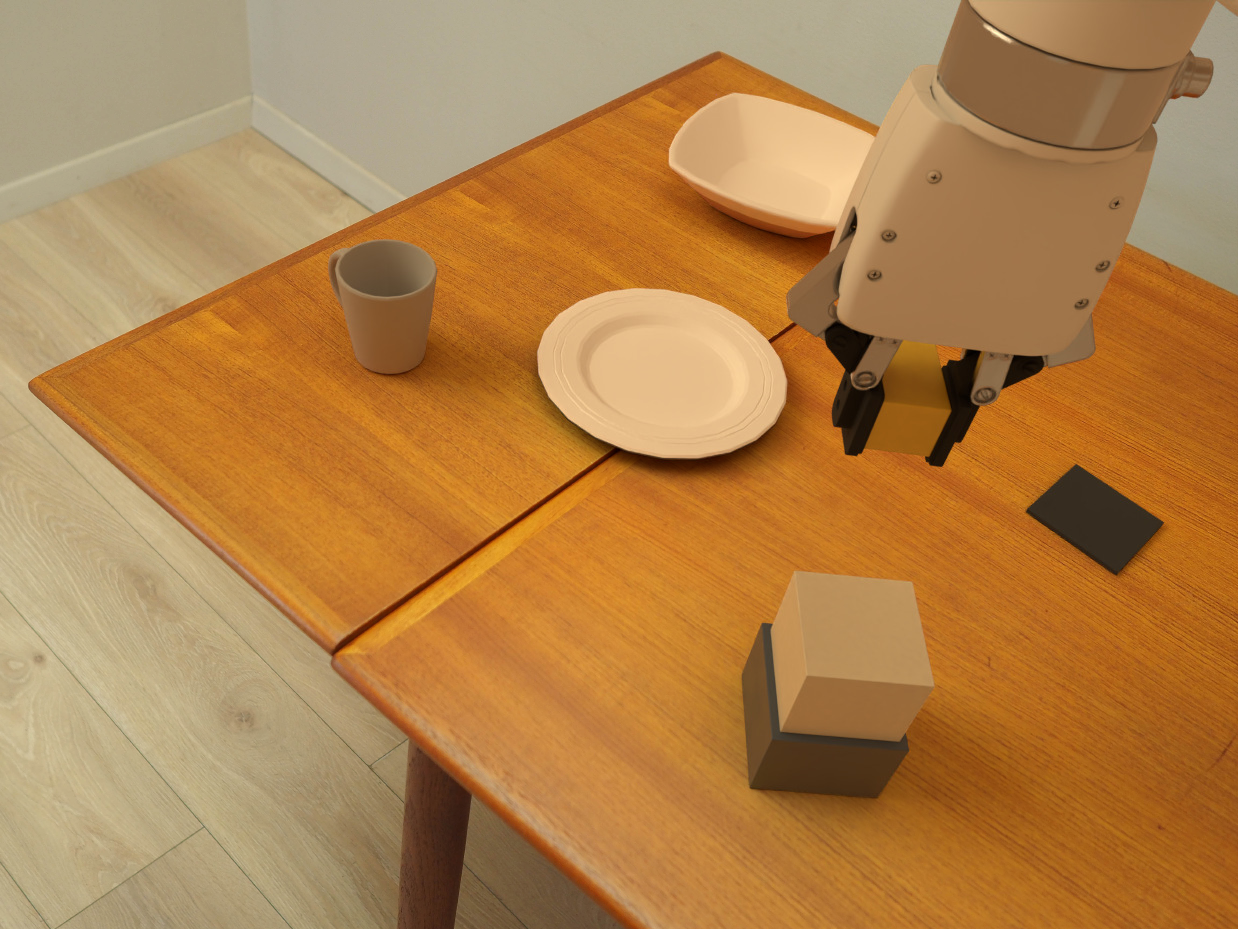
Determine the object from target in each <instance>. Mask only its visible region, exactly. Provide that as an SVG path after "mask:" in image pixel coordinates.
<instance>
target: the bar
mask: <svg viewBox="0 0 1238 929" xmlns="http://www.w3.org/2000/svg"><path fill="white" fill-rule="evenodd" d="M853 227H855V226H853ZM939 356H940V355H939V351H938V349H937V345H934V344H927V343H920V342H913V341H906V340H903V342H902V343H901V345H900V347H899V349H898V350H897V352H896V354H895V355H894V357H893V359H892V361H891V362H890V364H889V366H888V368H887V369H886V371H885V373H884V376H883V379H882V381H883V386H884V392H885V399H884V403H883V405H882V407H881V410H880V412H879V414H878V417H877V419H876V422H875V424H874V426H873V429H872V431H871V433H870V436H869V438H868V441H867V443H866V445H865V448H864V450H872V451H881V452H888V453H896V454H904V455H912V456H921V457H925V456H927V457H929V456H930V455H931V452H932V450H933V448H934V446H935V444H936V442H937V440H938V438H939V436H940V434H941V432H942V430H943V428H944V426H945V424H946V422H947V420H948V418H949V416H950V414H951V411H952V409H951V405H950V401H949V397H948V393H947V389H946V385H945V381H944V376H943V372H942V365H941V360H940V357H939Z"/></svg>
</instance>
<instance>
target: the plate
mask: <svg viewBox="0 0 1238 929" xmlns="http://www.w3.org/2000/svg"><path fill="white" fill-rule="evenodd" d="M536 356H537V371H538V378H539V380H540V382H541V384H542V387H543V389H544V391H545V393H546V396H547V397H548V399H549V401H550V402H551V403H552V404H553V405H554V406H555V407H556V408H557V410H558V411H559V412H560V413H561V414H562V415H563V416H564V418H566V419H567V421H569V422H570V423H571V424H573V425H574V426H576V427H577V428H579V429H580V430H582V431H583V432H585V433H586V434H588V435H589V436H591V437H592V438H593V439H595V440H597V441H600V442H603V443H604V444H607V445H609V446H612V447H615V448H616V449H619V450H621V451H624V452H626V453H630V454H636V455H640V456H644V457H650V458H654V459H660V460H684V461H685V460H688V461H689V460H690V461H694V460H695V461H698V460H699V461H700V460H703V459H708V458H714V457H719V456H725V455H729V454H732V453H734V452H736V451H739V450H740V449H742V448H745V447H747V446H749V445H751V444H753V443H755V442H757V441H759V439H760V438H761V437H762V436H764V435H765V434H766V433H767V432H769V430H771V429H772V427H774V426H775V425H776V423H777V421H778V418H779V417H780V415H781V414H782V411H783V410H784V407H785V406H786V404H787V403H786V402H787V391H788V379H787V376H786V372H785V369H784V365H783V362H782V359H781V357H780V356H779V355H778V353H777V352H776V350H775V348H774V347H773V346H772V345H771V343H770V341H769V340H768V339H767V338H766V337H765V336H764V335H763V334H762V333H761V332H760V331H759V330H758V329H757V328H756V327H754V326H753V325H752V324H751V323H750V322H749V321H748V320H746V319H745V318H743V317H741V316H740V315H738V314H736V313H735V312H732V311H731V310H730V309H728V308H726V307H724V306H723V305H720V304H717V303H715V302H712V301H710V300H707V299H704V298H701V297H699V296H696V295H693V294H689V293H683V292H679V291H674V290H669V289H663V288H641V287H640V288H638V287H634V288H633V287H632V288H626V289H619V290H618V289H617V290H610V291H604V292H601V293H599V294H595V295H592V296H590V297H587V298H584V299H581V300H579V301H577V302H575V303H574V304H572V305H571V306H569V307H568V308H566V309H564V310H563V311H561V312H560V313H558V314H557V315H556V317H554V319H553V320H552V322H551V323H550V324H549V325H548V326H547V328H546V329H545V330H544V331H543V334H542V337H541V340H540V343H539V346H538V348H537V351H536Z"/></svg>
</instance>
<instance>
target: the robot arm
mask: <svg viewBox="0 0 1238 929" xmlns="http://www.w3.org/2000/svg"><path fill="white" fill-rule="evenodd" d="M1216 2H1218V3H1219V4H1220V5H1222V7H1224V8H1225V9H1227V10H1228V11H1229V12H1230V13H1232V14H1233V15H1235V16H1236V17H1238V0H960V2H959V5H958V8H957V11H956V14H955V17H954V18H953V22H952V25H951V27H950V30H949V33H948V36H947V39H946V41H945V44H944V47H943V50H942V53H941V56H940V58H939V61H938V64H930V63H928V64H927V63H926V64H925V63H924V64H920V65H918V66H916V67H915V68H914V69H912V71H911V72H910V73H909V76H908V77H907V79H906V80H905V82H904V84H903V85H902V86H901V88H900V90H899V92H898V93H897V95H896V97H895V98H894V101H893V102H892V104H891V105H890V107H889V109H888V110H887V113H886V115H885V117H884V119H883V121H882V123H881V125H880V127H879V129H878V131H877V133H876V135H875V136H874V137H875V139H874V141H873V143H872V145H871V147H870V149H869V152H868V154H867V156H866V158H865V160H864V163H863V165H862V167H861V169H860V172H859V174H858V176H857V179H856V181H855V183H854V185H853V188H852V190H851V192H850V195H849V197H848V200H847V202H846V205H845V207H844V209H843V212H842V215H841V217H840V220H839V223H838V225H837V228H836V230H834V234H833V238H832V240H831V243H830V248H829V252H828V254H826V256H825V257H823V258H822V259H821V260H820V261H819V262H818V263H817V264H816V265H815V266H813V267H812V269H810V270H809V271H808V272H807V273H805V275H804V276H803V277H802V278H801V279H800V280H798V282H796V283H795V284H794V285H793V286H791V288H790V289H789V290H788V291H787V292H786V295H785V300H786V312H787V317H788V319H789V320H790V321H791V322H792V323H794V324H795V325H797V326H799V327H800V328H801V329H803V330H804V331H806V332H807V333H809V334H810V335H812V336H814V337H815V338H819V339H821V340H822V341H824V343H825V345H826V347H827V349H828V350H829V351H830V352H831V354H832V355H833V357H835V359H836V360H837V361H838V362H839V364H840V365H841V366H842V368H843V369H844V372H843V375H842V377H841V380H840V383H839V386H838V388H837V391H836V393H835V396H834V398H833V402H832V407H831V422H832V427H834V428H838V429H841V436H842V444H843V452H844V455H845V456H851V457H858V456H859V455H862V454H863V452H864V450H865V449H864V448H865V445H866V443H867V441H868V438H869V436H870V433H871V431H872V429H873V426H874V424H875V422H876V419H877V417H878V414H879V412H880V410H881V407H882V405H883V403H884V399H885V392H884V386H883V381H882V379H883V376H884V373H885V371H886V369H887V368H888V366H889V364H890V362H891V361H892V359H893V357H894V355H895V354H896V352H897V350H898V349H899V347H900V345H901V343H902V342H903V340H906V341H913V342H920V343H927V344H934V345H936V346H942V347H950V348H958V349H961V352H960V356H959V360H956V359H948V360H947V363H946V365H942V366H941V368H942V372H943V376H944V381H945V385H946V389H947V393H948V397H949V401H950V405H951V409H952V411H951V414H950V416H949V418H948V420H947V422H946V424H945V426H944V428H943V430H942V432H941V434H940V436H939V438H938V440H937V442H936V444H935V446H934V448H933V450H932V452H931V455H930V456H929V457H927V456H924V460H925V463H928V465H929V466H930V467H937V468H943V467H944V465H945V464H946V461H947V459H948V458H949V455H950V453H951V451H952V450H953V447H954V445H955V444H956V443H957V444H960V443H962V442H963V441H964V439H965V437H966V435H967V433H968V431H969V429H970V427H971V425H972V423H973V421H974V419H975V417H976V415H977V414H978V411H979V410H980V408H981V407H986V406H989V405H992V404H994V403H995V402H997V400H998V399H999V398H1000V395H1001V392H1002V391H1003V390H1004V389H1007V388H1009V387H1011V386H1013V385H1016V384H1017V383H1020V382H1022V381H1025V380H1027V379H1029V378H1032V377H1034V376H1036V375H1037V374H1039V373H1041V371H1043V369H1044V368H1048V369H1052V368H1056V367H1059V366H1064V365H1068V364H1072V363H1076V362H1081V361H1084V360H1088V359H1090V358H1091V357H1092V356H1093V355H1094V354H1095V353H1096V349H1097V348H1096V337H1095V329H1094V328H1095V327H1094V321H1093V320H1094V319H1093V312H1094V309H1095V308H1096V306H1097V303H1098V301H1099V300H1100V298H1101V296H1102V294H1103V292H1104V290H1105V288H1106V286H1107V284H1108V282H1109V280H1110V278H1111V276H1112V273H1113V271H1114V269H1115V267H1116V264H1117V262H1118V260H1119V258H1120V256H1121V253H1122V252H1123V248H1124V246H1125V244H1126V242H1127V239H1128V236H1129V235H1130V232H1131V229H1132V226H1133V224H1134V220H1135V218H1136V215H1137V212H1138V210H1139V208H1140V204H1141V202H1142V198H1143V196H1144V192H1145V189H1146V185H1147V182H1148V179H1149V176H1150V171H1151V169H1152V165H1153V160H1154V157H1155V153H1156V149H1157V144H1158V133H1157V130H1156V129H1155V127H1154V125H1156V124H1157V122H1158V121H1159V118H1160V117H1161V115H1162V113H1163V112H1164V109H1165V108H1166V106H1167V105H1168V102H1169V101H1170V100H1177V99H1181V97H1184V98H1190V99H1191V98H1192V99H1199V98H1201V97H1202V96H1203V95H1204V94H1205V93H1206V92H1207V90H1208V88H1209V86H1210V85H1211V83H1212V81H1213V80H1212V79H1213V76H1214V68H1215V66H1214V61H1213V60H1212V59H1211V58H1207V57H1201V56H1195V54H1194V53H1193V51H1192V50H1191V49H1192V47H1193V45H1194V43H1195V41H1196V40H1197V38H1198V35H1199V34H1200V32H1201V30H1202V29H1203V26H1204V24H1205V23H1206V20H1207V19H1208V17H1209V16H1210V13H1211V11H1212V10H1213V8H1214V6H1215V4H1216ZM853 226H855V227H853ZM837 300H838V301H837ZM836 301H837V305H836V304H835V302H836Z"/></svg>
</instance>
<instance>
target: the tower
mask: <svg viewBox="0 0 1238 929" xmlns="http://www.w3.org/2000/svg"><path fill="white" fill-rule="evenodd" d="M932 670H933V669H932V665H931V661H930V657H929V652H928V648H927V643H926V638H925V632H924V629H923V624H922V618H921V615H920V609H919V605H918V601H917V596H916V591H915V587H914V582H913V581H909V580H899V579H887V578H878V577H877V578H876V577H867V576H858V575H857V576H856V575H847V574H836V573H825V572H815V571H805V570H794V571H793V572H792V575H791V578H790V580H789V583H788V585H787V588H786V591H785V593H784V595H783V597H782V600H781V603H780V606H779V607H778V611H777V612H776V615H775V618H774V620H773V623H771V622H769V623H768V622H761V624H760V626H759V629H758V631H757V634H756V636H755V639H754V642H753V644H752V647H751V649H750V651H749V654H748V657H747V660H746V662H745V665H744V667H743V670H742V671H741V687H742V688H741V689H742V702H743V716H744V718H743V719H744V731H745V732H744V733H745V744H746V746H745V747H746V758H747V759H746V760H747V772H748V773H747V774H748V775H747V776H748V787H749V789H755V790H769V791H780V792H781V791H782V792H794V793H807V794H819V795H833V796H843V797H844V796H845V797H855V798H858V797H859V798H871V799H878V798H879V797H880V795H881V794H882V792H883V791H884V789H885V788H886V787H887V785H888V784H889V782H890V780H892V778H893V776H894V775H895V773H896V771H897V770H898V769H899V767H900V766H901V764H902V763H903V761H904V759H905V758H906V757H907V755H908V754H909V752H910V748H909V741H908V736H907V731H908V730H909V728H910V727H911V725H912V723H913V722H914V720H915V718H916V717H917V716H918V714H919V713H920V711H921V709H922V707H923V706H924V704H925V703H926V701H927V700H928V699H929V697H930V695H931V694H932V693H933V691H934V689H935V688H936V685H935V679H934V675H933V671H932Z"/></svg>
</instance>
